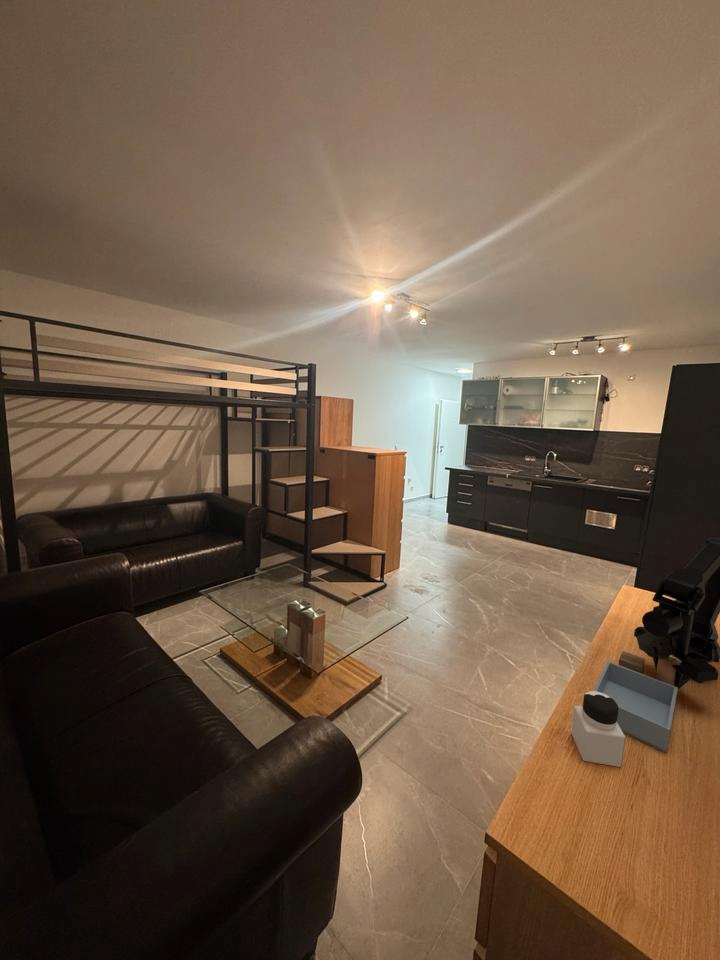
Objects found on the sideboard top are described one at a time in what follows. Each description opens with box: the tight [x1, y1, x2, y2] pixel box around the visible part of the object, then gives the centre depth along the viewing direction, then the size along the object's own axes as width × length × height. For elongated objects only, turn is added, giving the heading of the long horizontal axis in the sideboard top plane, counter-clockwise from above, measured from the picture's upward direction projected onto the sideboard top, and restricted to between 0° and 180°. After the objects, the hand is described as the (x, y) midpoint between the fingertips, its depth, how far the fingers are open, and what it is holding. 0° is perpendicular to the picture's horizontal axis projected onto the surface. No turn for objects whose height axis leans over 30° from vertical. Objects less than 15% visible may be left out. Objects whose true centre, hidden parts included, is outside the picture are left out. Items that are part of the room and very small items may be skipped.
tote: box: [592, 661, 678, 754], centre depth 89 cm, size 17×14×6 cm
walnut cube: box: [618, 650, 646, 674], centre depth 101 cm, size 5×5×5 cm
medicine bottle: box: [570, 690, 626, 768], centre depth 78 cm, size 7×7×12 cm
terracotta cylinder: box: [655, 656, 681, 694], centre depth 97 cm, size 5×5×7 cm
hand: (667, 680), depth 97 cm, fingers closed on terracotta cylinder, 5 cm apart
